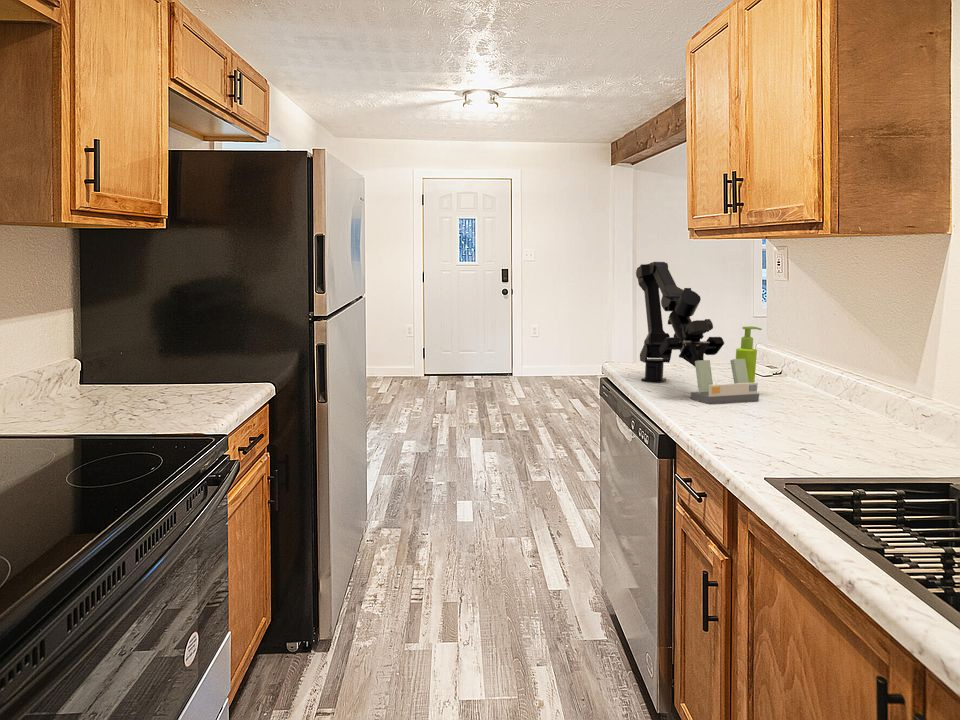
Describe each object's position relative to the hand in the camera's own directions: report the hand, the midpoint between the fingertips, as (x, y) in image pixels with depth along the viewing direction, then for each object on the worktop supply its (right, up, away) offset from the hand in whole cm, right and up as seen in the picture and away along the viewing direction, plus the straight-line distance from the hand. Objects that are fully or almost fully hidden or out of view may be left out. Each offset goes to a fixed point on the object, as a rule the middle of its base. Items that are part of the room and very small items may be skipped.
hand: (701, 369), depth 232 cm
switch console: (+7, -9, +1) cm, 11 cm away
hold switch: (+13, -6, +3) cm, 15 cm away
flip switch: (+1, -7, -2) cm, 7 cm away
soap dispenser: (+17, -7, +14) cm, 23 cm away
